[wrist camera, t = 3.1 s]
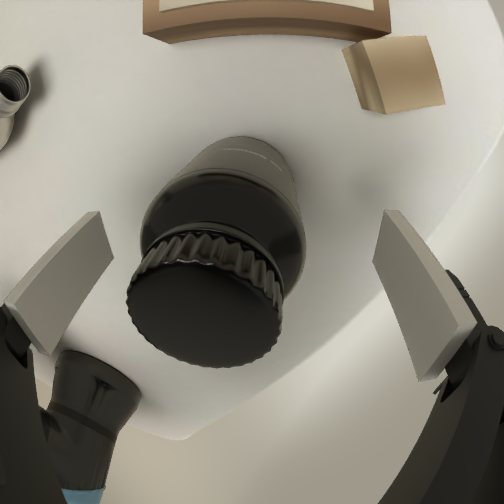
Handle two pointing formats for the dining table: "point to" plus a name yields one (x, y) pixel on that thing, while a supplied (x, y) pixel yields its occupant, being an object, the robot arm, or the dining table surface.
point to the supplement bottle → (219, 256)
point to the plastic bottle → (11, 98)
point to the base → (265, 18)
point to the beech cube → (394, 74)
